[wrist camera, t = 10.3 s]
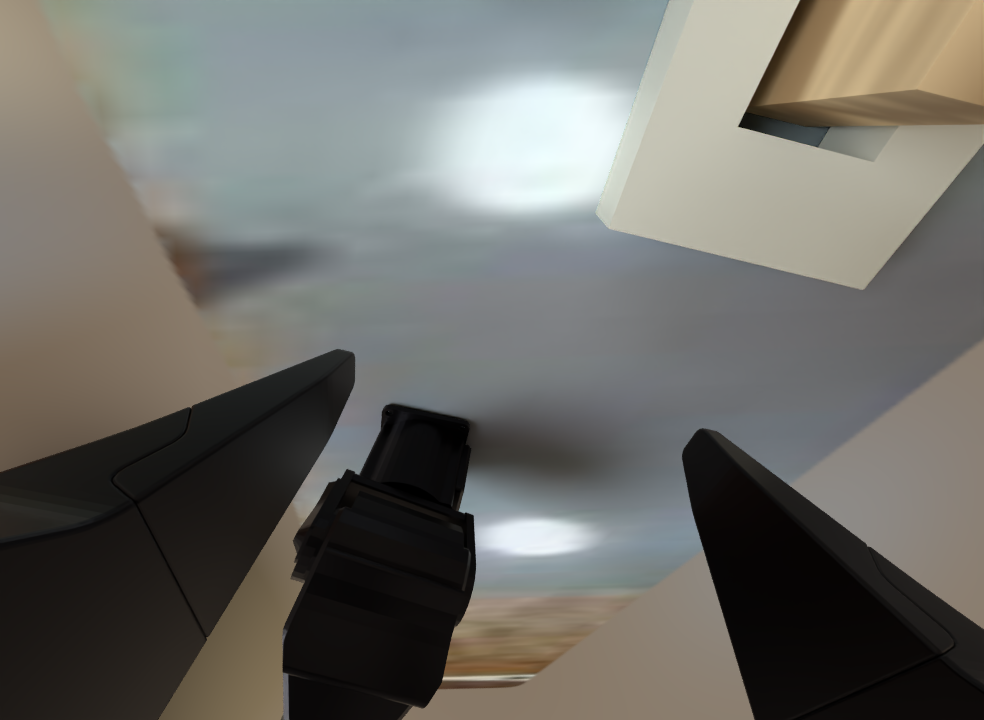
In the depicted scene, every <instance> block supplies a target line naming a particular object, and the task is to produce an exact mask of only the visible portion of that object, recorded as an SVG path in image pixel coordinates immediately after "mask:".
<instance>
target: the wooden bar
mask: <svg viewBox="0 0 984 720" xmlns="http://www.w3.org/2000/svg"><path fill="white" fill-rule="evenodd" d="M745 112H747V113H751V114H756V115H760V116H764V117H768V118H772V119H776V120H780V121H784V122H789V123H793V124H797V125H801V126H805V127H820V126H899V125H978V124H984V0H800V1H799V3H798V5H797V7H796V9H795V11H794V13H793V15H792V17H791V19H790V21H789V23H788V25H787V27H786V30H785V32H784V34H783V36H782V38H781V40H780V42H779V44H778V46H777V48H776V50H775V52H774V54H773V56H772V58H771V60H770V62H769V64H768V66H767V68H766V70H765V72H764V74H763V76H762V78H761V80H760V82H759V85H758V87H757V89H756V91H755V93H754V95H753V97H752V99H751V101H750V103H749V105H748V107H747V109H746V111H745Z"/></svg>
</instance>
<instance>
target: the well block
mask: <svg viewBox="0 0 984 720" xmlns="http://www.w3.org/2000/svg"><path fill="white" fill-rule="evenodd" d="M799 1H800V0H669V2H668V5H667V8H666V11H665V14H664V17H663V20H662V23H661V25H660V28H659V31H658V34H657V37H656V40H655V43H654V46H653V49H652V51H651V54H650V57H649V60H648V63H647V66H646V69H645V72H644V74H643V77H642V80H641V83H640V86H639V89H638V92H637V95H636V97H635V100H634V103H633V106H632V109H631V112H630V115H629V118H628V121H627V123H626V126H625V129H624V132H623V135H622V138H621V141H620V144H619V146H618V149H617V152H616V155H615V158H614V161H613V164H612V167H611V169H610V172H609V175H608V178H607V181H606V184H605V187H604V190H603V193H602V195H601V198H600V201H599V204H598V207H597V210H596V214H597V216H598V217H599V218H600V219H601V220H602V221H603V223H604V224H605V225H606V226H607V227H608V229H612V230H616V231H621V232H625V233H629V234H633V235H637V236H641V237H645V238H650V239H654V240H658V241H662V242H666V243H670V244H674V245H679V246H683V247H687V248H691V249H695V250H699V251H703V252H708V253H712V254H716V255H720V256H724V257H728V258H732V259H737V260H741V261H745V262H749V263H753V264H757V265H761V266H766V267H770V268H774V269H778V270H782V271H786V272H790V273H795V274H799V275H803V276H807V277H811V278H815V279H820V280H824V281H828V282H832V283H836V284H840V285H844V286H849V287H853V288H857V289H861V290H864V289H865V287H866V286H867V285H868V284H869V283H870V281H871V280H872V279H873V278H874V276H875V275H876V274H877V273H878V272H879V270H880V269H881V268H882V267H883V265H884V264H885V263H886V262H887V261H888V259H889V258H890V257H891V256H892V255H893V253H894V252H895V251H896V250H897V248H898V247H899V246H900V245H901V244H902V242H903V241H904V240H905V239H906V238H907V236H908V235H909V234H910V233H911V231H912V230H913V229H914V228H915V227H916V225H917V224H918V223H919V222H920V220H921V219H922V218H923V217H924V216H925V214H926V213H927V212H928V211H929V210H930V208H931V207H932V206H933V205H934V203H935V202H936V201H937V200H938V199H939V197H940V196H941V195H942V194H943V193H944V191H945V190H946V189H947V188H948V186H949V185H950V184H951V183H952V182H953V180H954V179H955V178H956V177H957V176H958V174H959V173H960V172H961V171H962V169H963V168H964V167H965V166H966V165H967V163H968V162H969V161H970V160H971V158H972V157H973V156H974V155H975V154H976V152H977V151H978V150H979V149H980V148H981V146H982V145H983V144H984V124H978V125H899V126H831V127H830V128H829V130H828V132H827V133H826V135H825V137H824V138H823V140H822V141H821V143H820V145H819V146H818V148H817V147H813V146H810V145H806V144H802V143H798V142H794V141H790V140H787V139H783V138H779V137H775V136H771V135H767V134H764V133H760V132H756V131H752V130H748V129H744V128H740V127H738V125H739V123H740V121H741V119H742V117H743V115H744V113H745V111H746V109H747V107H748V105H749V103H750V101H751V99H752V97H753V95H754V93H755V91H756V89H757V87H758V85H759V82H760V80H761V78H762V76H763V74H764V72H765V70H766V68H767V66H768V64H769V62H770V60H771V58H772V56H773V54H774V52H775V50H776V48H777V46H778V44H779V42H780V40H781V38H782V36H783V34H784V32H785V30H786V27H787V25H788V23H789V21H790V19H791V17H792V15H793V13H794V11H795V9H796V7H797V5H798V3H799Z"/></svg>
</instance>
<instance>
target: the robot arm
mask: <svg viewBox="0 0 984 720" xmlns="http://www.w3.org/2000/svg"><path fill="white" fill-rule="evenodd" d="M354 383H355V355H354V353H353V352H350V351H345V350H341V349H336V350H333V351H331V352H328V353H325V354H323V355H320V356H318V357H315V358H313V359H310V360H308V361H305V362H302V363H300V364H297V365H295V366H292V367H290V368H287V369H285V370H282V371H280V372H277V373H274V374H272V375H269V376H267V377H264V378H262V379H259V380H257V381H254V382H251V383H249V384H246V385H244V386H241V387H239V388H236V389H234V390H231V391H229V392H226V393H223V394H221V395H219V396H216V397H213V398H211V399H208V400H205V401H203V402H200V403H198V404H195V405H193V406H192V409H191V408H190V407H187V408H185V409H182V410H180V411H177V412H175V413H172V414H170V415H167V416H164V417H162V418H159V419H156V420H154V421H151V422H148V423H146V424H143V425H140V426H138V427H135V428H132V429H129V430H126V431H123V432H120V433H117V434H114V435H112V436H109V437H106V438H103V439H100V440H97V441H94V442H91V443H88V444H85V445H81V446H78V447H75V448H73V449H69V450H66V451H63V452H60V453H57V454H55V455H51V456H48V457H45V458H42V459H39V460H36V461H33V462H30V463H27V464H24V465H20V466H17V467H14V468H11V469H9V470H5V471H3V472H0V720H158V719H159V717H160V716H161V714H162V712H163V711H164V709H165V707H166V706H167V704H168V703H169V701H170V699H171V698H172V696H173V694H174V693H175V691H176V690H177V688H178V686H179V685H180V683H181V681H182V680H183V678H184V676H185V675H186V673H187V672H188V670H189V668H190V666H191V665H192V663H193V662H194V660H195V658H196V657H197V655H198V654H199V652H200V650H201V649H202V647H203V645H204V644H205V642H206V640H207V639H206V637H208V636H209V635H210V633H211V632H212V630H213V629H214V627H215V625H216V624H217V622H218V621H219V619H220V617H221V616H222V614H223V612H224V611H225V609H226V607H227V606H228V604H229V603H230V601H231V599H232V597H233V596H234V594H235V593H236V591H237V589H238V587H239V586H240V585H241V583H242V581H243V580H244V578H245V576H246V575H247V573H248V572H249V570H250V568H251V567H252V565H253V563H254V562H255V560H256V558H257V557H258V555H259V553H260V552H261V550H262V549H263V547H264V545H265V544H266V542H267V540H268V539H269V537H270V536H271V534H272V532H273V531H274V529H275V527H276V525H277V524H278V522H279V521H280V519H281V518H282V516H283V514H284V513H285V511H286V509H287V508H288V506H289V505H290V503H291V501H292V500H293V498H294V496H295V495H296V493H297V491H298V490H299V488H300V487H301V485H302V483H303V482H304V480H305V478H306V477H307V475H308V474H309V472H310V470H311V469H312V467H313V465H314V464H315V462H316V460H317V459H318V457H319V456H320V454H321V452H322V451H323V449H324V447H325V446H326V444H327V442H328V440H329V439H330V437H331V435H332V433H333V431H334V429H335V426H336V424H337V422H338V420H339V418H340V415H341V413H342V411H343V409H344V407H345V404H346V402H347V400H348V398H349V396H350V393H351V391H352V389H353V386H354ZM388 411H390V412H392V413H390V412H388ZM461 426H463V427H465V428H462V427H461ZM469 427H470V424H469V423H468V422H467V421H465V420H460V419H455V418H451V417H446V416H441V415H436V414H432V413H427V412H422V411H417V410H413V409H408V408H403V407H398V406H394V405H386V406H385V407H384V408H383V411H382V420H381V431H380V433H379V435H378V437H377V439H376V441H375V443H374V445H373V447H372V449H371V452H370V454H369V456H368V458H367V460H366V462H365V464H364V466H363V468H362V470H361V472H360V475H358V474H355V472H354V471H351V470H349V469H347V470H346V471H345V473H344V475H343V477H342V478H341V479H340V478H338V479H337V481H335V482H329V484H328V485H327V487H326V489H325V491H324V493H323V494H322V496H321V498H320V500H319V501H318V503H317V505H316V506H315V508H314V509H313V511H312V512H311V513H310V515H309V516H308V518H307V519H306V520H305V522H304V523H303V524H302V526H301V527H300V529H299V530H298V532H297V534H296V536H295V538H294V540H293V543H294V546H295V549H296V552H297V556H296V558H295V561H294V563H297V564H296V566H295V568H294V571H293V573H292V576H291V579H293V580H296V581H299V582H302V583H304V585H303V587H302V589H301V591H300V593H299V595H298V597H297V599H296V602H295V604H294V606H293V608H292V610H291V612H290V614H289V616H288V619H287V621H286V623H285V626H284V628H283V696H284V697H283V699H284V700H283V703H284V713H283V716H282V718H281V720H402V718H403V717H404V716H405V714H407V712H408V711H409V710H410V709H411V708H412V706H415V707H419V708H425V707H426V706H427V705H428V703H429V702H430V700H431V699H432V697H433V695H434V694H435V692H436V691H437V689H438V688H439V686H440V685H441V683H442V679H443V674H444V670H445V665H446V660H447V655H448V650H449V646H450V641H451V637H452V633H453V630H454V627H456V626H457V625H458V624H459V623H460V621H461V620H462V618H463V616H464V614H465V612H466V609H467V607H468V604H469V601H470V598H471V594H472V591H473V586H474V581H475V573H476V554H475V534H474V516H473V515H472V514H469V513H462V512H459V508H460V504H461V500H462V496H463V493H464V488H465V482H466V476H467V470H468V464H469V458H470V452H471V448H470V446H469V445H466V440H467V436H468V432H469ZM682 461H683V466H684V471H685V476H686V482H687V487H688V492H689V497H690V503H691V507H692V512H693V516H694V519H695V523H696V526H697V530H698V533H699V536H700V540H701V543H702V546H703V550H704V553H705V556H706V560H707V563H708V566H709V569H710V573H711V576H712V580H713V583H714V586H715V589H716V593H717V596H718V599H719V603H720V606H721V609H722V613H723V616H724V619H725V623H726V626H727V629H728V633H729V636H730V639H731V643H732V646H733V649H734V653H735V656H736V659H737V663H738V666H739V669H740V673H741V676H742V679H743V683H744V686H745V689H746V693H747V696H748V699H749V703H750V706H751V709H752V713H753V716H754V719H755V720H984V629H983V628H981V627H980V626H978V625H977V624H975V623H974V622H973V621H971V620H970V619H968V618H967V617H966V616H964V615H963V614H961V613H960V612H958V611H957V610H956V609H954V608H953V607H951V606H950V605H948V604H947V603H946V602H944V601H943V600H942V599H940V598H939V597H937V596H936V595H935V594H933V593H932V592H931V591H929V590H927V589H926V588H925V587H923V586H922V585H921V584H919V583H918V582H917V581H915V580H914V579H913V578H911V577H910V576H908V575H907V574H906V573H904V572H903V571H902V570H900V569H899V568H898V567H896V566H895V565H894V564H892V563H891V562H890V561H888V560H887V559H886V558H884V557H883V556H882V555H880V554H879V553H878V552H876V551H875V550H874V549H872V548H871V547H867V545H866V543H864V542H863V541H862V540H860V539H859V538H858V537H857V536H855V535H854V534H852V533H851V532H850V531H848V530H847V529H846V528H845V527H843V526H842V525H841V524H839V523H838V522H837V521H835V520H834V519H833V518H831V517H830V516H829V515H827V514H826V513H825V512H823V511H822V510H821V509H819V508H818V507H817V506H815V505H814V504H813V503H812V502H810V501H809V500H808V499H806V498H805V497H803V496H802V495H801V494H800V493H798V492H797V491H796V490H794V489H793V488H792V487H790V486H789V485H788V484H786V483H785V482H784V481H782V480H781V479H780V478H778V477H777V476H776V475H774V474H773V473H772V472H770V471H769V470H768V469H767V468H765V467H764V466H763V465H761V464H760V463H759V462H757V461H756V460H755V459H753V458H752V457H751V456H749V455H748V454H747V453H745V452H744V451H743V450H741V449H740V448H739V447H737V446H736V445H735V444H733V443H732V442H731V441H729V440H728V439H727V438H725V437H724V436H723V435H722V434H720V433H719V432H717V431H713V430H709V429H704V428H702V429H699V430H697V431H696V433H695V434H694V435H693V437H692V438H691V440H690V441H689V442H688V444H687V445H686V447H685V448H684V450H683V453H682Z"/></svg>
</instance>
